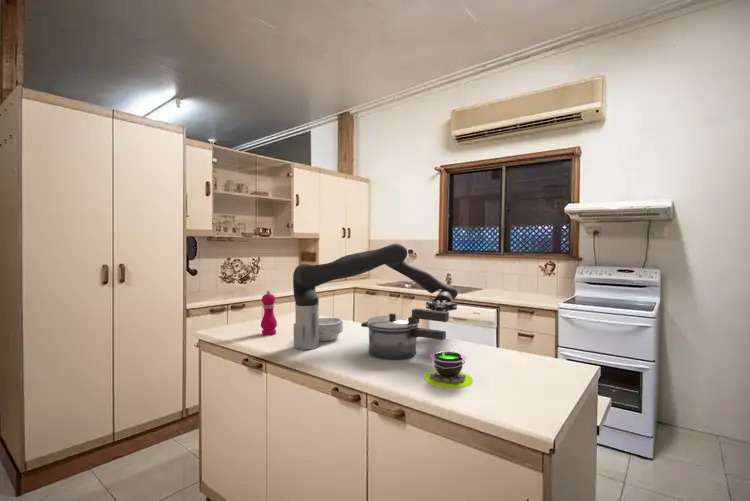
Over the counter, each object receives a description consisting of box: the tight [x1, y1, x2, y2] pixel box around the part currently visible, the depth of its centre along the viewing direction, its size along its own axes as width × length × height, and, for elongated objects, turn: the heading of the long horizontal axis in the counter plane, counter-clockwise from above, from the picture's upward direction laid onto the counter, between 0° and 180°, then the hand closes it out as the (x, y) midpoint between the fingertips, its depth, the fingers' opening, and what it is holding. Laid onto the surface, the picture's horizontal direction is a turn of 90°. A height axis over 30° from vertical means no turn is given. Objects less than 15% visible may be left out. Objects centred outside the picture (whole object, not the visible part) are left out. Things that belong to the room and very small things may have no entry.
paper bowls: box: [319, 317, 344, 342], centre depth 170 cm, size 15×15×8 cm
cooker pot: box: [360, 321, 447, 361], centre depth 147 cm, size 34×19×11 cm, turn 58°
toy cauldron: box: [423, 342, 474, 389], centre depth 121 cm, size 15×15×11 cm
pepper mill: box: [260, 290, 278, 336], centre depth 178 cm, size 7×7×20 cm
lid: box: [367, 308, 450, 329], centre depth 145 cm, size 31×19×6 cm, turn 58°
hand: (439, 309), depth 149 cm, fingers closed
